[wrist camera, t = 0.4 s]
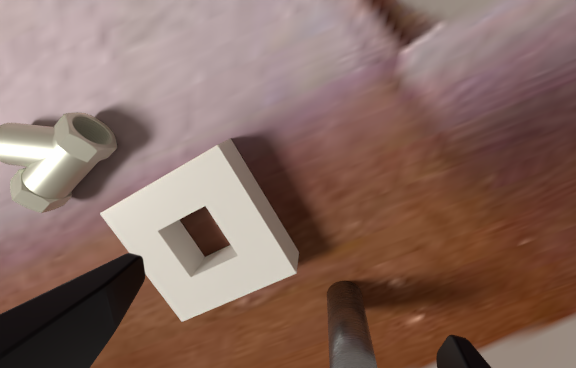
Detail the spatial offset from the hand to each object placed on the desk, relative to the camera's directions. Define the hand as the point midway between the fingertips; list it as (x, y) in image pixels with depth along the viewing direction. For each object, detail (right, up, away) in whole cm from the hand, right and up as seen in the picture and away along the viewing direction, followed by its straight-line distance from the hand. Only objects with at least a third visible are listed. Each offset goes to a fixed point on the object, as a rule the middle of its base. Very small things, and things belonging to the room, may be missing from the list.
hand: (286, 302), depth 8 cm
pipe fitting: (-18, +7, +16) cm, 25 cm away
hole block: (-6, 0, +16) cm, 18 cm away
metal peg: (+5, -6, +17) cm, 19 cm away
